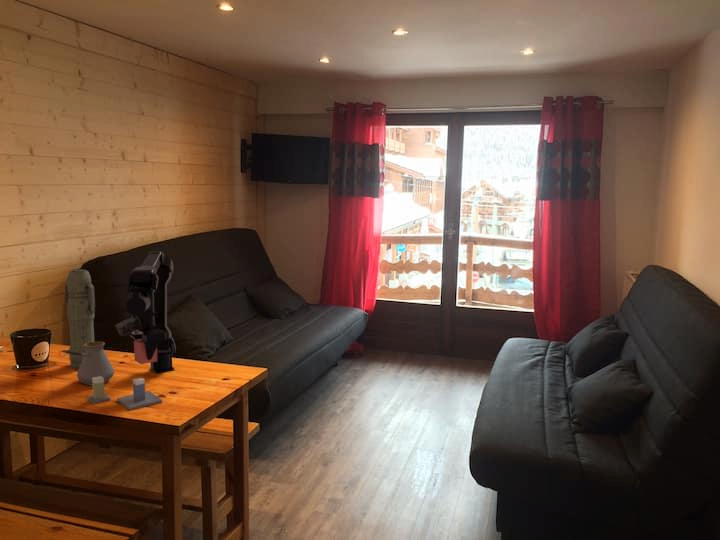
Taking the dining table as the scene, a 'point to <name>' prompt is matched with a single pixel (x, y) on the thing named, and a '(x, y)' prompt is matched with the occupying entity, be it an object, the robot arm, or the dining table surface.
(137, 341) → the red rectangular block
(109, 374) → the coffee pot
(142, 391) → the grey plate with post
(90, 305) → the grey figurine statue
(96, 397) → the grey base with block
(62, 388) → the dining table surface
